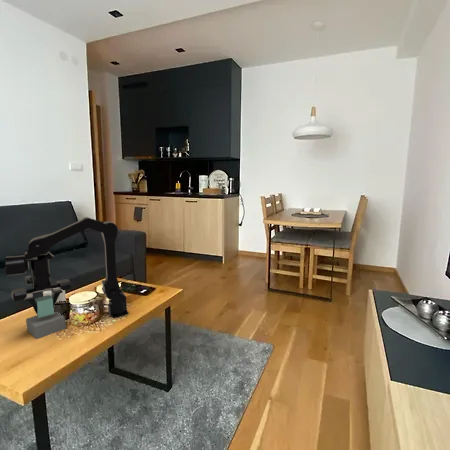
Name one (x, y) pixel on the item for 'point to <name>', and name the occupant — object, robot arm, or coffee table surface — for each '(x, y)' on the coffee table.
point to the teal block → (44, 306)
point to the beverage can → (60, 298)
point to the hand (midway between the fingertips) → (44, 310)
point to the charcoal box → (45, 324)
